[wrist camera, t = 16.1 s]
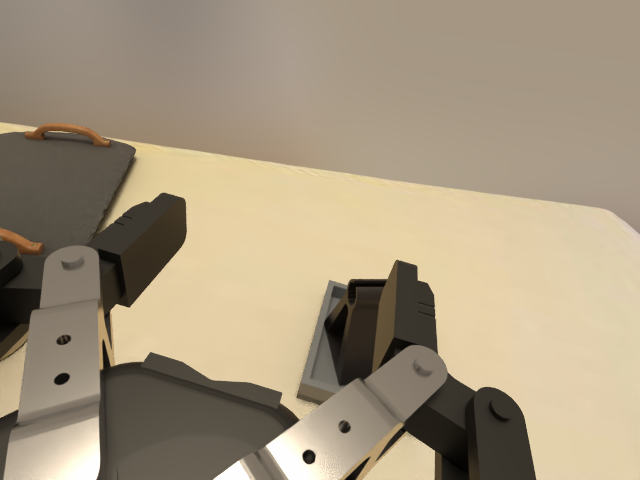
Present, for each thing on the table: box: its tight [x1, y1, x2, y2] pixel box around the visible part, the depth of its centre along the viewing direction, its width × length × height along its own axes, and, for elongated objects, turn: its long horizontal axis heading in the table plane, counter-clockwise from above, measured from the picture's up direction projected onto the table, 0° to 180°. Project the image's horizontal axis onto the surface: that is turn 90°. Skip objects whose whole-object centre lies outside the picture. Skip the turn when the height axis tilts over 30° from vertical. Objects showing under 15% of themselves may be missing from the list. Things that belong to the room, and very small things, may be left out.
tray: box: [297, 280, 348, 405], centre depth 46 cm, size 14×17×3 cm
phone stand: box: [324, 279, 387, 385], centre depth 43 cm, size 9×6×12 cm, turn 11°
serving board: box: [0, 123, 136, 257], centre depth 57 cm, size 39×23×6 cm, turn 9°
